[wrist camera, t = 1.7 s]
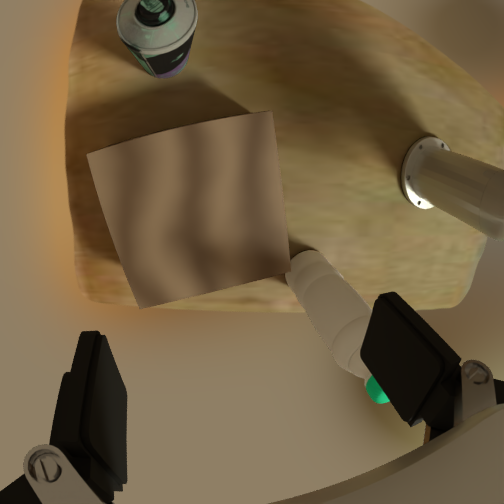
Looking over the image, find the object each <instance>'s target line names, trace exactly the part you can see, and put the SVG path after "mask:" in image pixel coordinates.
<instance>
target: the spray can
mask: <svg viewBox="0 0 504 504" xmlns="http://www.w3.org/2000/svg"><path fill="white" fill-rule="evenodd" d="M197 20H198V11H197V6H196V2H195V0H125V1H124V2H123V3H122V5H121V7H120V9H119V11H118V14H117V18H116V25H117V31H118V35H119V37H120V39H121V40H122V42H123V43H124V44H125V45H126V46H127V48H128V49H129V50H130V51H131V53H132V54H133V55H134V56H135V58H136V59H137V60H138V61H139V63H140V64H141V65H142V66H143V68H144V69H145V70H146V71H147V72H148V73H149V74H150V75H152V76H154V77H157V78H169V77H173V76H175V75H177V74H178V73H180V72H181V71H182V70H183V68H184V67H185V66H186V64H187V61H188V57H189V53H190V48H191V44H192V40H193V36H194V32H195V28H196V24H197Z"/></svg>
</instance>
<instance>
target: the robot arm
mask: <svg viewBox="0 0 504 504" xmlns="http://www.w3.org/2000/svg"><path fill="white" fill-rule="evenodd" d="M401 181H402V188H403V192H404V194H405V196H406V198H407V199H408V201H409V202H410V203H411V204H413V205H414V206H416V207H418V208H421V209H429V208H432V207H434V206H435V207H437V208H439V209H441V210H443V211H445V212H447V213H449V214H450V215H452V216H454V217H456V218H458V219H459V220H461V221H463V222H465V223H467V224H468V225H470V226H472V227H473V228H475V229H477V230H479V231H480V232H482V233H484V234H485V235H487V236H489V237H490V238H493V239H495V240H498V241H504V170H503V169H500V168H498V167H495V166H492V165H490V164H487V163H484V162H481V161H479V160H476V159H473V158H470V157H467V156H464V155H461V154H458V153H455V152H452V151H450V149H449V148H448V146H447V145H446V144H445V142H443V141H442V140H441V139H438V138H436V137H431V136H429V137H423V138H421V139H419V140H418V141H416V142H415V143H414V144H413V145H412V146H411V148H410V149H409V151H408V153H407V155H406V157H405V159H404V162H403V167H402V174H401ZM360 357H361V360H362V361H363V363H364V364H365V365H366V367H367V368H368V370H369V371H370V373H371V374H372V376H373V377H374V378H375V380H376V381H377V383H378V384H379V386H380V387H381V389H382V390H383V392H384V393H385V394H386V396H387V397H388V399H389V400H390V402H391V403H392V405H393V406H394V408H395V409H396V411H397V412H398V413H399V415H400V417H401V418H402V419H403V421H406V422H408V424H409V425H410V427H412V426H414V425H416V424H418V423H420V422H422V420H424V421H425V422H426V426H425V434H424V442H423V446H420V447H419V448H417V449H415V450H413V451H411V452H409V453H407V454H405V455H403V456H401V457H399V458H397V459H395V460H393V461H391V462H389V463H386V464H384V465H382V466H380V467H378V468H375V469H373V470H371V471H368V472H366V473H363V474H361V475H359V476H356V477H353V478H351V479H348V480H346V481H343V482H340V483H338V484H335V485H332V486H329V487H326V488H323V489H320V490H317V491H313V492H310V493H307V494H303V495H300V496H296V497H293V498H289V499H285V500H281V501H277V502H273V503H269V504H504V381H501V380H496V379H493V375H492V372H491V370H490V369H489V368H488V367H487V366H486V365H485V364H484V363H482V362H480V361H477V360H467V361H466V362H464V363H463V365H462V366H460V365H459V363H460V361H461V358H460V357H459V356H458V355H457V354H456V353H455V351H454V350H453V349H452V348H451V347H450V346H449V345H448V344H447V343H446V342H445V341H444V340H443V339H442V338H441V337H440V336H439V335H438V334H437V333H436V332H435V331H434V330H433V329H432V328H431V327H430V326H429V325H428V323H426V322H425V320H423V318H421V316H420V315H418V313H416V312H415V311H414V310H413V309H412V308H411V307H410V306H409V305H408V304H407V303H406V302H405V301H404V300H403V299H402V298H401V297H400V296H399V295H398V294H397V293H396V292H388V293H384V294H380V295H379V296H378V299H376V300H375V303H374V307H373V310H372V314H371V317H370V321H369V324H368V327H367V331H366V334H365V337H364V340H363V343H362V346H361V350H360ZM126 428H127V391H126V388H125V385H124V383H123V381H122V378H121V375H120V373H119V370H118V368H117V365H116V363H115V360H114V357H113V355H112V352H111V349H110V346H109V344H108V341H107V338H106V336H105V335H101V334H100V332H99V331H83V332H81V334H80V337H79V340H78V344H77V348H76V352H75V356H74V359H73V363H72V368H71V372H66V373H65V374H64V375H63V378H62V382H61V386H60V391H59V395H58V400H57V404H56V409H55V414H54V420H53V425H52V430H51V436H50V443H49V445H47V444H44V445H38V446H36V447H34V448H32V449H31V450H30V451H29V452H28V453H27V455H26V457H25V459H24V463H23V467H24V474H23V475H22V476H21V477H19V478H18V479H16V480H15V481H14V482H12V483H11V484H10V485H8V486H7V487H6V488H4V489H3V490H1V491H0V504H114V503H113V502H112V501H113V500H114V491H123V486H122V484H126V483H127V452H126V451H127V450H126V449H127V448H126V446H127V445H126V431H127V429H126Z"/></svg>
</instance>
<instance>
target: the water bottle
mask: <svg viewBox="0 0 504 504" xmlns="http://www.w3.org/2000/svg"><path fill="white" fill-rule="evenodd" d="M290 263H291V272H287V273H285V278H286V281H287V284H288V285H289V287H290V288H291V290H292V291H293V292H294V293H295V295H296V297H297V299H298V301H299V303H300V304H301V305H302V307H303V308H304V309H305V310H306V312H307V314H308V316H309V318H310V320H311V322H312V323H313V325H314V327H315V329H316V330H317V332H318V333H319V335H320V337H321V338H322V340H323V341H324V343H325V344H326V345H327V347H328V348H329V349H330V350H331V352H332V355H333V358H334V360H335V362H336V363H337V364H338V365H339V366H340V367H341V368H343V369H345V370H347V371H349V372H351V373H353V374H354V375H356V376H358V377H361V378H364V379H365V382H364V384H365V387H366V390H367V392H368V394H369V395H370V397H371V398H372V400H373V401H374V402H376V403H386V402H389V401H390V400H389V399H388V397H387V396H386V394H385V393H384V392H383V390H382V389H381V387H380V386H379V384H378V383H377V381H376V380H375V378H374V377H373V376H372V374H371V373H370V371H369V370H368V368H367V367H366V365H365V364H364V363H363V361H362V360H361V357H360V350H361V346H362V343H363V340H364V337H365V334H366V331H367V327H368V324H369V321H370V317H371V314H372V309H371V307H370V306H369V305H368V304H367V302H366V301H365V300H364V299H363V298H362V297H361V296H360V294H359V293H358V292H357V291H356V290H355V289H354V288H353V287H352V286H351V285H350V284H349V283H348V282H347V281H345V280H344V278H343V277H342V275H341V274H340V272H339V271H338V270H337V269H336V268H335V267H333V266H332V265H331V263H330V262H329V260H328V259H327V258H326V257H325V256H324V255H323V254H322V253H320V252H318V251H314V250H307V251H303V252H301V253H299V254H297V255H296V256H295V257H293V258H292V259H291V261H290Z"/></svg>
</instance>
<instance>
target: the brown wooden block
mask: <svg viewBox="0 0 504 504" xmlns="http://www.w3.org/2000/svg"><path fill="white" fill-rule="evenodd" d="M86 155H87V159H88V162H89V166H90V170H91V174H92V177H93V181H94V184H95V188H96V191H97V194H98V198H99V201H100V204H101V207H102V210H103V213H104V216H105V220H106V223H107V226H108V228H109V231H110V234H111V237H112V240H113V243H114V246H115V248H116V251H117V254H118V256H119V259H120V262H121V264H122V267H123V270H124V272H125V275H126V277H127V280H128V282H129V285H130V287H131V290H132V292H133V294H134V297H135V299H136V301H137V304H138V306H139V308H140V309H143V308H147V307H151V306H156V305H160V304H164V303H168V302H173V301H177V300H181V299H185V298H189V297H193V296H197V295H201V294H206V293H210V292H214V291H218V290H222V289H226V288H229V287H233V286H237V285H241V284H245V283H249V282H253V281H257V280H261V279H264V278H268V277H272V276H276V275H280V274H283V273H287V272H291V263H290V253H289V243H288V233H287V224H286V215H285V206H284V197H283V189H282V181H281V173H280V165H279V157H278V149H277V142H276V134H275V127H274V120H273V113H272V111H264V112H257V113H246V114H240V115H234V116H228V117H222V118H217V119H212V120H207V121H202V122H197V123H192V124H188V125H183V126H179V127H175V128H171V129H167V130H162V131H159V132H155V133H151V134H147V135H143V136H140V137H136V138H133V139H129V140H126V141H122V142H119V143H116V144H113V145H109V146H107V147H105V148H102V149H99V150H96V151H93V152H90V153H88V154H86Z"/></svg>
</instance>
